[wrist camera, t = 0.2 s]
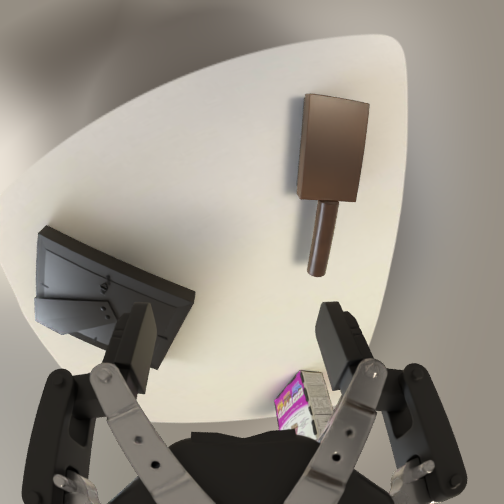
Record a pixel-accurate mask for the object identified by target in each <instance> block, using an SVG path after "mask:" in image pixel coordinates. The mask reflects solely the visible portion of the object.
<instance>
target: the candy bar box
mask: <svg viewBox="0 0 504 504" xmlns="http://www.w3.org/2000/svg"><path fill="white" fill-rule="evenodd" d="M274 403H275V409H276V415H277V421H278V426H279V430H286V429H295V431H296V434H297V435H303V436H307V437H310V438H312V439H314V440H316V441H317V439H318V437H319V436H320V434H321V433H322V431H323V429H324V428H325V426H326V424H327V422H328V420H329V419H330V417H331V415H332V413H333V407H332V404H331V400H330V397H329V394H328V390H327V387H326V384H325V380H324V377H323V374H322V373H321V372H309V371H299V372H298V373H297V375H296V376H295V377H294V378H293V379H292V381H291V382H290V383H289V384H288V385H287V387H286V388H285V389H284V390H283V391H282V393H281V394H280V395H279V396H278V397H277V398H276V399H275V400H274Z"/></svg>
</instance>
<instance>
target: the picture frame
mask: <svg viewBox="0 0 504 504" xmlns="http://www.w3.org/2000/svg"><path fill="white" fill-rule="evenodd" d="M194 299H195V291H192V290H190V289H187V288H185V287H182V286H180V285H177V284H175V283H172V282H170V281H167V280H165V279H162V278H160V277H158V276H155V275H153V274H151V273H148V272H146V271H143V270H141V269H139V268H136V267H134V266H132V265H130V264H127V263H125V262H123V261H120V260H118V259H116V258H114V257H112V256H109V255H107V254H105V253H103V252H101V251H98V250H96V249H94V248H92V247H90V246H88V245H86V244H83V243H81V242H79V241H77V240H75V239H73V238H71V237H69V236H67V235H65V234H63V233H61V232H59V231H57V230H55V229H53V228H51V227H49V226H47V225H46V226H45V227H44V228H43V229H42V230H41V231H40V232H39V233H38V241H37V259H36V297H35V298H34V301H35V321H37V322H38V323H40V324H42V325H44V326H46V327H48V328H50V329H51V330H53V331H55V332H57V333H59V334H61V335H64V334H70V335H72V336H74V337H76V338H79V339H81V340H83V341H85V342H87V343H89V344H92V345H94V346H96V347H99V348H101V349H103V350H107V347H108V344H109V341H110V338H111V337H112V333H113V330H114V328H115V325H116V322H117V320H118V319H119V318H120V317H121V315H122V314H123V313H124V312H125V313H130V312H131V309H132V306H133V304H134V302H143V303H150V304H151V307H152V311H153V315H154V319H155V323H156V328H157V336H156V341H155V346H154V351H153V355H152V360H151V365H150V367H151V368H154V369H156V370H158V368H159V366H160V364H161V362H162V361H163V359H164V357H165V355H166V353H167V351H168V349H169V348H170V346H171V344H172V342H173V340H174V338H175V336H176V335H177V333H178V331H179V329H180V327H181V325H182V324H183V322H184V320H185V318H186V316H187V315H188V313H189V311H190V309H191V307H192V305H193V304H194Z"/></svg>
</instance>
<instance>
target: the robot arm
mask: <svg viewBox="0 0 504 504" xmlns="http://www.w3.org/2000/svg"><path fill="white" fill-rule="evenodd" d="M315 333H316V338H317V341H318V344H319V348H320V351H321V354H322V357H323V361H324V364H325V367H326V370H327V374H328V377H329V380H330V384H331V387H332V391H335V390H341V393H342V395H341V397H340V399H339V401H338V403H337V405H336V407H335V409H334V411H333V413H332V415H331V417H330V419H329V420H328V422H327V424H326V426H325V428H324V429H323V431H322V433H321V434H320V436H319V437H318V439H317V441H316V440H314V439H312V438H310V437H307V436H303V435H297V434H296V431H295V429H286V430H276V431H269V432H265V433H262V434H258V435H255V436H251V437H247V438H239V437H234V436H230V435H225V434H221V433H208V432H207V433H206V432H191V438H187V439H184V440H180V441H178V442H176V443H174V444H172V445H171V446H169V447H167V445H166V444H165V443H164V441H163V440H162V438H161V437H160V436H159V434H158V433H157V431H156V430H155V428H154V427H153V425H152V424H151V422H150V421H149V419H148V418H147V416H146V415H145V413H144V412H143V410H142V409H141V407H140V405H139V404H138V402H137V401H136V399H137V394H138V393H139V394H145V391H146V386H147V380H148V375H149V370H150V365H151V360H152V355H153V351H154V346H155V341H156V336H157V328H156V323H155V319H154V315H153V311H152V307H151V304H150V303H143V302H134V304H133V306H132V309H131V312H130V313H125V312H124V313H123V314H122V315H121V317H120V318H119V319H118V320H117V322H116V325H115V328H114V330H113V333H112V337H111V338H110V341H109V344H108V347H107V350H106V353H105V356H104V359H103V361H102V363H101V364H99V365H97V366H95V367H94V368H93V369H92V371H91V373H88V374H82V375H75V376H72V374H71V373H70V372H69V371H68V370H66V369H57V370H55V371H53V372H52V373H51V374H50V375H49V377H48V378H47V381H46V384H45V387H44V390H43V394H42V397H41V400H40V404H39V407H38V410H37V414H36V418H35V422H34V426H33V430H32V434H31V438H30V443H29V447H28V453H27V458H26V464H25V470H24V477H23V484H22V499H23V502H24V504H101V503H100V501H99V499H98V492H97V489H96V487H95V485H94V484H93V483H92V482H91V481H89V480H88V475H89V465H90V456H91V448H92V441H93V434H94V427H95V421H96V418H98V417H107V423H108V425H109V427H110V429H111V431H112V433H113V435H114V436H115V438H116V440H117V442H118V444H119V445H120V447H121V449H122V451H123V452H124V454H125V456H126V457H127V459H128V460H129V462H130V463H131V465H132V467H133V468H134V470H135V471H136V473H137V474H138V476H137V477H136V478H135V479H134V480H133V481H132V482H131V483H130V484H129V485H128V486H126V487H125V488H124V489H123V490H122V491H121V492H120V493H119V494H117V496H115V497H114V498H113V499H112V500H111V501H110V502H108V503H107V504H438V503H441V502H443V501H445V500H448V499H450V498H453V497H455V496H457V495H459V494H460V493H461V492H462V491H463V490H464V489H465V487H466V484H467V474H466V470H465V467H464V464H463V460H462V457H461V454H460V451H459V448H458V445H457V442H456V439H455V437H454V434H453V431H452V428H451V426H450V423H449V420H448V418H447V415H446V413H445V410H444V408H443V405H442V403H441V400H440V398H439V396H438V393H437V391H436V389H435V386H434V384H433V382H432V380H431V377H430V375H429V373H428V371H427V370H426V369H425V368H424V367H423V366H422V365H419V364H416V363H412V364H409V365H407V366H406V367H405V369H404V370H396V369H388V368H386V367H385V365H384V364H383V363H382V362H380V361H379V360H376V359H374V358H373V356H372V353H371V352H370V349H369V347H368V344H367V342H366V340H365V338H364V336H363V335H362V331H361V329H360V328H359V325H358V323H357V321H356V319H355V318H354V317H353V316H352V315H351V314H350V313H349V312H348V311H345V312H343V310H342V308H341V306H340V304H339V302H337V301H336V302H323V303H322V304H321V307H320V311H319V315H318V318H317V322H316V326H315ZM376 411H382V414H383V418H384V422H385V425H386V429H387V432H388V436H389V440H390V443H391V447H392V451H393V455H394V459H395V463H396V467H397V470H396V471H395V472H394V473H393V475H392V478H391V489H390V492H389V493H388V492H386V491H385V490H384V489H382V488H380V487H379V486H377V485H376V484H375V483H373V482H372V481H370V480H369V479H367V478H366V477H365V476H363V475H362V474H360V473H359V472H357V471H356V470H355V469H354V467H355V465H356V462H357V461H358V458H359V456H360V454H361V452H362V450H363V447H364V445H365V443H366V440H367V438H368V435H369V433H370V431H371V428H372V426H373V423H374V421H375V418H376V415H377V412H376Z"/></svg>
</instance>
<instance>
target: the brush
mask: <svg viewBox="0 0 504 504" xmlns="http://www.w3.org/2000/svg"><path fill="white" fill-rule="evenodd" d="M368 115H369V104H368V103H364V102H359V101H354V100H348V99H343V98H337V97H331V96H325V95H318V94H305V97H304V106H303V120H302V132H301V144H300V155H299V166H298V176H297V195H298V196H299V198H300V199H306V200H318V204H317V211H316V218H315V225H314V231H313V237H312V244H311V250H310V256H309V261H308V267H307V272H308V273H309V274H310V275H311V276H314V277H322V276H324V275H325V273H326V268H327V263H328V259H329V254H330V249H331V244H332V239H333V234H334V229H335V224H336V218H337V213H338V207H339V202H338V201H345V202H356V197H357V192H358V186H359V180H360V174H361V168H362V161H363V155H364V148H365V140H366V132H367V124H368Z"/></svg>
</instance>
